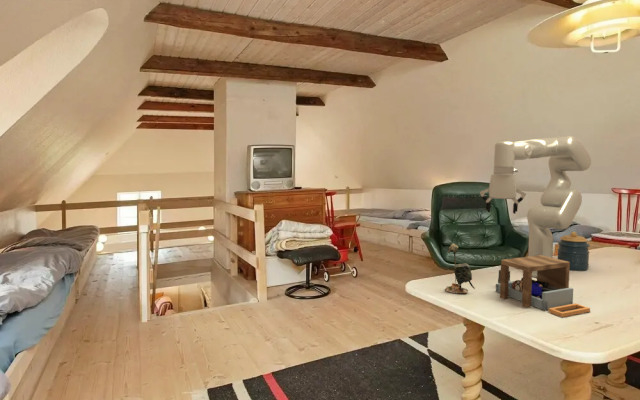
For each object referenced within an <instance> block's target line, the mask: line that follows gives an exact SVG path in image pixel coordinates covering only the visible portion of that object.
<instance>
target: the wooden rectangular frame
mask: <svg viewBox="0 0 640 400" xmlns="http://www.w3.org/2000/svg"><path fill="white" fill-rule="evenodd" d="M548 313H549V314H551V315H555V316H556V317H559V318H567V317H572V316H577V315H583V314H589V313H591V308H590V307H588V306H585V305H582V304H580V303H573V304H570V305H564V306H559V307H553V308H549V310H548Z"/></svg>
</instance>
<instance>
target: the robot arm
mask: <svg viewBox="0 0 640 400" xmlns="http://www.w3.org/2000/svg"><path fill="white" fill-rule="evenodd" d="M493 154H494V155H493V156H494V157H493V174H491V175H490V181H489V187H488V188H486V189H483V190H482V191H480V192H479V195H480V196H481V199H482V200H484V201H485V203H486V205H485V207H486V208H485V210H486V211H487V213H490V211H491V210H490V209H491V200H493V199H496V200H497V199H501V200H512V201H513V202H514V203H513V206H512V213H513V215H515V214H516V212H518V207H519V205H518V204H520V203H521V202H522V201H523V200H524V199H525V197H526V195H527V193H525V192H523V191H521V190H519V189H517V178H516V175H515V173H518V172H519V171H518V168H515V161H523V160H527V159H542V158H549V159H548V168H549V173H550V174H549V175H550V180H549V182H548V184H547V186H546V187H545V189H544V191H543V193H542V194H541V197H540V203H541V205H535V206H532V207H530V208H529V209H528V210H527V214H526V219H527V224H528V255H527V257H529V256H538V255H542V256H547V257H551V258H553V253H554V251H553V249H554V236H553V234H552V231H551V229H554V230H566V229H568V228H570V226H571V224H572V223H573V221H574V219H575V217H576V215H577V214H578V211H579V210H580V207H581V206H582V202H583V199H582V198H583V197H582V194H581V192H580V191H579V190H578V189H575V188H571V186H572V182H571V179H570V177H569V176H568V174H567V173H566V172H584V171H586V170H588V169H589V168H590V167H591V165H592V158H591V156H590V155H591V154H589V152H588V151H587V149H586V148H585V146H584V145H583V143H582V142H581V141H580V140H579V139H578V138H577V137H575V136H573V135H566V136H565V135H563V136H552V137H551V136H550V137H540V138H532V139H526V140H519V141H507V140H505V141H504V140H503V141H497V142H496V143H495V145H494V153H493ZM486 193H488V198H487V196H485V194H486ZM517 194H519V195H520V197H518V199H517V198H516V197H517ZM532 278H537V271H532Z"/></svg>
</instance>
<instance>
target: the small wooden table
mask: <svg viewBox="0 0 640 400" xmlns="http://www.w3.org/2000/svg"><path fill="white" fill-rule="evenodd" d="M500 262H501V264H500V270H501V278H500V293H499V298H500V299H503V300H508V299H509V296H508V289H509V271H510V268H513V269H517V270H521V271H522V278H523V287H522V301H521V307H523V308H525V309H529V308H532V305H531V291H532V280H533V277H532V271H537V277H536V281H541V282H548V283H549V284H548V286H552V287H556V288H557V290H559V289H565V288H570V270H569V268H570V262H568V261H563V260H559V259H557V258H555V257H552V258H551V257H547V256H542V255H538V256H529V257H528V256H522V257H513V258H506V259H501V260H500ZM548 289H549V288H548ZM551 290H553V289H551Z"/></svg>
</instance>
